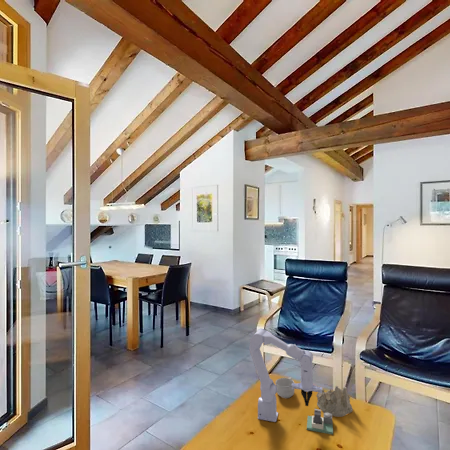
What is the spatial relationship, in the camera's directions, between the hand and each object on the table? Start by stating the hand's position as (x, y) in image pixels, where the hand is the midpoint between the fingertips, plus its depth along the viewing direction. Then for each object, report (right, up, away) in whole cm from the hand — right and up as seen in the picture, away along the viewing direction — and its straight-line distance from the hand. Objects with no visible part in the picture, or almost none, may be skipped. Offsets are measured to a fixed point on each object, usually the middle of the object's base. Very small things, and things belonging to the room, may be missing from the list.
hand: (306, 404), depth 154 cm
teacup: (-4, -11, +29) cm, 31 cm away
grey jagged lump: (+19, -11, +15) cm, 27 cm away
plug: (+5, -9, -1) cm, 11 cm away
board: (+6, -10, 0) cm, 12 cm away
